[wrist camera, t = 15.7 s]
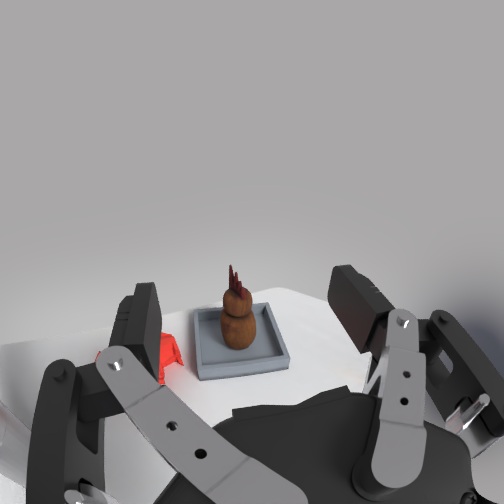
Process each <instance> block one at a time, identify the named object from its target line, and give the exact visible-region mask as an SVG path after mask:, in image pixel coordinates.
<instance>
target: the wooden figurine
mask: <svg viewBox="0 0 504 504" xmlns="http://www.w3.org/2000/svg"><path fill="white" fill-rule="evenodd" d="M223 307H224V308H223V309H222V312H221V317H220V326H221V332H222V336H223V339H224V341H225V343H226V344H227V345H228V347H229V348H232V349H234V350H243V349H246V348H248V347H249V346H250V345H251V344H252V342H253V341H254V339H255V337H256V320H255V317H254V313H253V311H252V310H251V308H252V296H251V293H250V292H249V291H248V290H247V289H246V288H244V287H242V283H241V281H238V275H237V272H235V276H234V274H233V270H232V266H231V265H230V266H229V289H228V290H227V291H226V292H225V294H224V297H223Z"/></svg>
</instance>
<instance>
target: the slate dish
mask: <svg viewBox="0 0 504 504" xmlns="http://www.w3.org/2000/svg"><path fill="white" fill-rule="evenodd" d="M223 308H224V307H221V308H210V309H198V310H194V328H195V344H196V358H197V370H198V375H199V379H200V381H204V380H214V379H224V378H233V377H241V376H248V375H255V374H262V373H268V372H274V371H280V370H285V369H288V367H289V362H290V356H289V353H288V351H287V348H286V346H285V343H284V341H283V338H282V336H281V333H280V331H279V328H278V326H277V323H276V321H275V318H274V316H273V313H272V311H271V308H270V306H269V303H268V302H267V303H259V304H252V308H251V310H252V311H253V313H254V317H255V320H256V337H255V339H254V341H253V342H252V344H251V345H250V346H249V347H248V348H246V349H243V350H234V349H232V348H229V347H228V345H227V344H226V343H225V341H224V339H223V336H222V332H221V326H220V317H221V312H222V309H223Z"/></svg>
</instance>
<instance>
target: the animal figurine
mask: <svg viewBox="0 0 504 504" xmlns="http://www.w3.org/2000/svg"><path fill="white" fill-rule="evenodd" d="M100 353H101V351H99V353H98V355H99V354H100ZM98 355H97V357H98ZM97 357H96V359H97ZM176 360H178V362H179V364H181V365H183V362H182V360H181V354H180V351H179V349H178V346H177V344H176V341H175V338H174V337H173V336H172V335H171V334H166V333H161V344H160V363H159V384H165V382H164V371H163V367H166V366H167V365H169V364H171V363H173V362H175V361H176ZM95 361H96V360H95ZM183 366H184V365H183Z"/></svg>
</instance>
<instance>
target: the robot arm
mask: <svg viewBox="0 0 504 504" xmlns="http://www.w3.org/2000/svg"><path fill="white" fill-rule="evenodd" d="M328 302H329V305H330V307H331V308H332V310H333V312H334V313H335V315H336V316H337V318H338V319H339V321H340V322H341V324H342V325H343V327H344V329H345V330H346V332H347V333H348V335H349V336H350V338H351V340H352V341H353V343H354V344H355V346H356V348H357V349H358V351H359V352H360V354H362V353H366V352H369V351H370V352H371V353H372V355H371V357H370V360H369V365H368V370H367V374H366V379H365V384H364V388H363V391H362V393H356V392H350V391H349V389H348V387H347V385H346V386H342V387H339V388H335V389H332V390H328V391H324V392H321V393H319V394H317V395H315V396H313V397H311V398H309V399H307V400H305V401H303V402H301V403H299V404H297V405H258V406H251V407H244V408H237V409H232V417H231V418H229V419H226V420H224V421H222V422H220V423H218V424H217V425H215V426H214V427H213V428H211V427H210V426H209V425H208V424H207V423H205V422H204V421H203V420H202V419H201V418H200V417H199V416H198V415H196V414H195V413H194V412H193V411H192V410H191V409H190V408H189V407H188V406H187V405H186V404H185V403H184V402H183V401H182V400H181V399H180V398H179V397H178V396H176V395H175V394H174V393H173V392H172V391H171V390H170V389H169V388H168V387H167V386H166V385H162V386H161V385H160V384H159V363H160V344H161V329H162V317H161V310H160V306H159V301H158V297H157V293H156V287H155V284H154V282H151V283H137V284H136V288H135V292H134V295H133V296H126V297H125V298H124V299H123V300H122V301H121V303H120V304H119V308H118V312H117V315H116V319H115V322H114V326H113V330H112V334H111V338H110V342H109V346H108V348H106V349H104V350H103V351H102V352H101V353H100V354H99V355H98V357H97V359H96V362H94V363H91V364H88V365H84V366H80V367H75V366H74V364H73V363H72V362H71V361H69V360H66V359H60V360H56V361H54V362H52V363H51V364H50V365H49V366H48V367H47V368H46V370H45V372H44V375H43V379H42V383H41V387H40V391H39V395H38V399H37V404H36V409H35V414H34V419H33V424H32V430H29V429H28V428H27V427H26V426H25V425H24V424H23V423H22V422H21V421H20V420H19V419H18V418H17V417H16V416H15V415H14V414H13V413H12V412H11V411H10V410H9V409H8V408H7V407H6V406H5V405H4V404H3V403H2V402H1V401H0V473H1V474H2V475H4V476H6V477H7V478H9V479H11V480H12V481H14V482H16V483H18V484H19V485H21V486H23V487H25V488H26V504H119V503H118V501H117V500H116V499H115V498H114V497H112V496H111V495H109V494H107V493H105V479H104V421H105V417H109V416H113V415H117V414H120V413H124V412H125V413H126V415H127V416H128V417H129V419H130V420H131V421H132V422H133V424H134V425H135V426H136V427H137V429H138V430H139V431H140V432H141V434H142V435H143V436H144V437H145V438H146V440H147V441H148V442H149V443H150V444H151V445H152V447H153V448H154V449H155V450H156V451H157V452H158V453H159V455H160V456H161V457H162V458H163V459H164V460H165V461H166V462H167V463H168V464H169V465H170V466H171V467H172V468H173V469H174V470H175V471H176V472H177V473H176V475H175V476H174V477H173V479H172V480H171V481H170V482H169V484H168V485H167V486H166V488H165V489H164V490H163V492H162V493H161V494H160V495H159V497H158V498H157V499H156V500H155V502H154V503H153V504H497V503H494V502H492V501H489V500H487V499H485V498H484V497H482V496H481V495H479V494H478V492H477V491H476V489H475V487H474V484H473V480H472V472H471V459H473V458H475V457H477V456H478V455H479V454H481V453H482V452H483V451H485V450H486V449H487V448H489V447H490V446H491V445H493V444H494V443H495V442H496V441H498V440H499V439H500V438H501V437H502V436H504V380H503V378H502V377H501V375H500V374H499V372H498V371H497V370H496V368H495V367H494V366H493V364H492V363H491V362H490V361H489V359H488V358H487V356H486V355H485V354H484V353H483V352H482V350H481V349H480V348H479V346H478V345H477V344H476V343H475V341H474V340H473V339H472V338H471V337H470V335H469V334H468V333H467V332H466V331H465V329H464V328H463V327H462V326H461V325H460V324H459V322H458V321H457V320H456V319H455V318H454V317H453V316H452V315H451V314H450V313H448V312H446V311H443V310H435V311H433V313H432V314H431V316H430V319H423V320H422V319H421V320H420V319H417V318H416V317H415V315H413V314H412V313H411V312H409V311H407V310H404V309H395V308H394V306H393V305H392V304H391V303H390V302H389V301H388V300H387V299H386V297H385V296H384V295H383V294H382V293H381V292H380V291H379V289H378V288H377V287H375V285H374V284H373V283H372V282H371V281H370V280H369V279H368V278H366V277H365V276H363V275H362V274H359V273H358V272H357V271H356V270H355V269H354V268H353V267H352V266H351V265H341V266H335V267H334V268H333V271H332V275H331V280H330V285H329V290H328ZM442 350H444V351H445V352H446V354H447V355H448V356H449V358H450V359H451V360H452V362H453V371H452V373H451V374H450V373H449V371H448V370H447V368H446V367H445V365H444V364H443V362H442V361H441V360H440V358H439V355H440V353H441V352H442ZM425 389H426V390H427V392H428V394H429V395H430V397H431V399H432V400H433V402H434V404H435V405H436V407H437V409H438V411H439V412H440V414H441V415H442V418H443V419H444V421H445V423H446V430H445V429H443V428H440V427H438V426H436V425H434V424H431V423H429V422H427V421H424V408H425V407H424V406H425Z"/></svg>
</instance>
